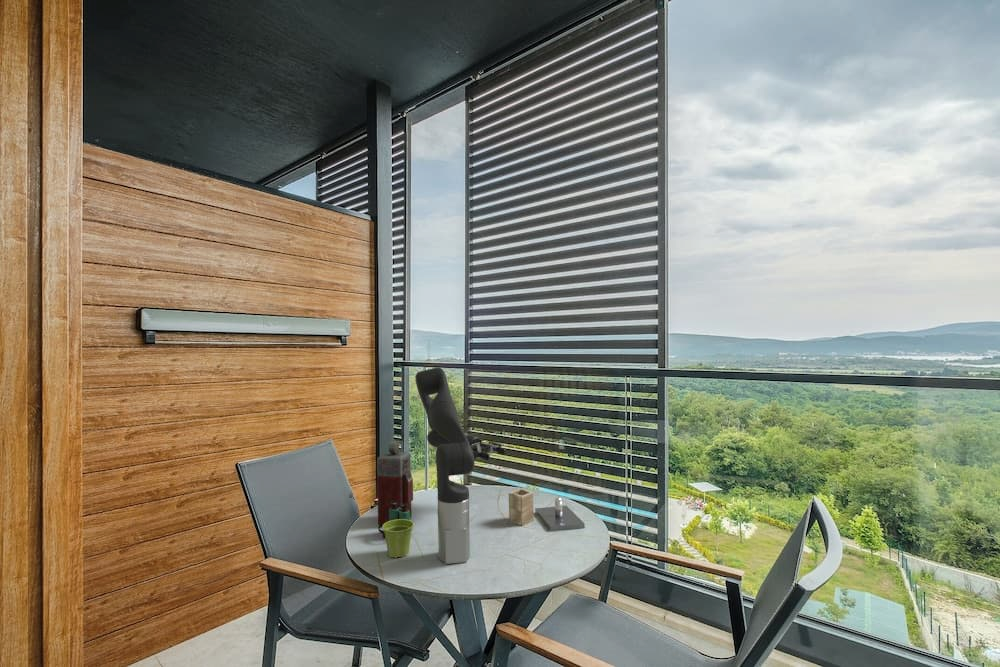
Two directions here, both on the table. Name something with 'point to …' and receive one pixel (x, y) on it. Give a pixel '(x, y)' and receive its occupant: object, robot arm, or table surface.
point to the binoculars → (396, 514)
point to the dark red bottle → (393, 481)
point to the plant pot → (398, 536)
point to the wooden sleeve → (521, 506)
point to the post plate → (559, 517)
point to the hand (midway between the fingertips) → (497, 454)
